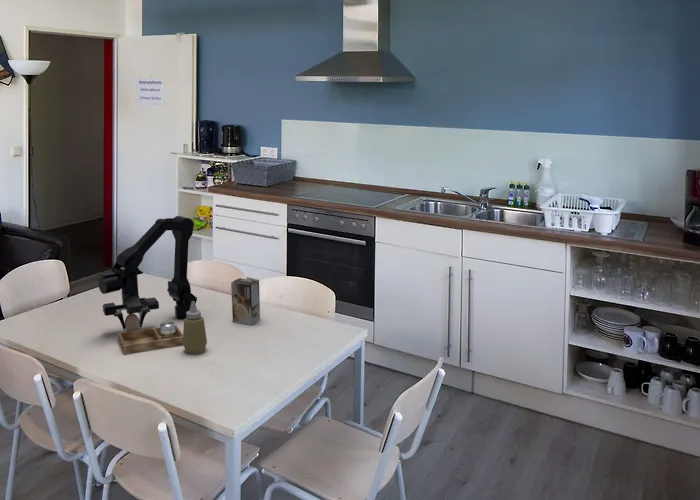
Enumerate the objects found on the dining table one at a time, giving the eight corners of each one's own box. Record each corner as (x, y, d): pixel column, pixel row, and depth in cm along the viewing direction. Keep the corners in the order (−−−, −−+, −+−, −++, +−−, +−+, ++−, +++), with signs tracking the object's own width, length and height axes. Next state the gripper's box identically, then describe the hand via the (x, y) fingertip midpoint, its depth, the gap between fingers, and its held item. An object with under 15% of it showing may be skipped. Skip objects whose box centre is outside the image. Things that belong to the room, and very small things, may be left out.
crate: (176, 333, 237) (175, 324, 236) (184, 346, 226) (184, 336, 225) (118, 342, 228) (118, 333, 227) (124, 356, 217) (123, 346, 216)
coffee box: (261, 320, 252) (260, 280, 248) (252, 326, 246) (251, 285, 242) (240, 317, 255) (239, 277, 251) (231, 322, 249) (230, 282, 245)
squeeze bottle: (185, 347, 225) (182, 298, 220) (209, 347, 225) (207, 297, 221) (181, 357, 217) (178, 305, 213) (205, 356, 218) (203, 305, 213)
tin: (174, 336, 233) (173, 320, 231) (177, 341, 228) (176, 325, 227) (159, 338, 231) (158, 322, 229) (162, 343, 226) (161, 327, 225)
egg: (127, 336, 234) (126, 317, 232) (123, 331, 238) (121, 312, 236) (142, 333, 237) (141, 314, 235) (137, 329, 241) (136, 310, 239)
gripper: (105, 297, 222) (108, 340, 226) (161, 290, 230) (163, 332, 234) (100, 288, 232) (104, 329, 235) (154, 282, 240) (157, 322, 244)
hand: (132, 328), depth 237 cm, fingers closed on egg, 5 cm apart
